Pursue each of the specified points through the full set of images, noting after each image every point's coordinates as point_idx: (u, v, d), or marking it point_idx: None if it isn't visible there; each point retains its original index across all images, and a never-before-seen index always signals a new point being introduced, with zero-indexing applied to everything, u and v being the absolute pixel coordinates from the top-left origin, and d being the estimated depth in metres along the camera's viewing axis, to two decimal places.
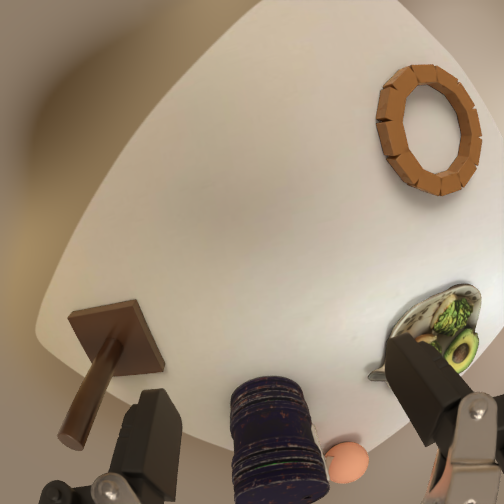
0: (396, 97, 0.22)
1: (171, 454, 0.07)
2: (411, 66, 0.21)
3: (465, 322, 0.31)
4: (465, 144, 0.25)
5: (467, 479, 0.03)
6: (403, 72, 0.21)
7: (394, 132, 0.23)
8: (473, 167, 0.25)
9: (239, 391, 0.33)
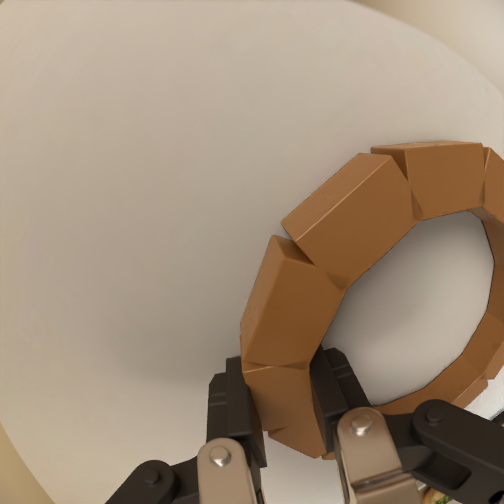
0: (275, 384, 0.08)
1: (258, 419, 0.09)
2: (297, 243, 0.07)
3: None
4: None
5: (377, 499, 0.03)
6: (270, 298, 0.07)
7: (300, 439, 0.10)
8: None
9: None
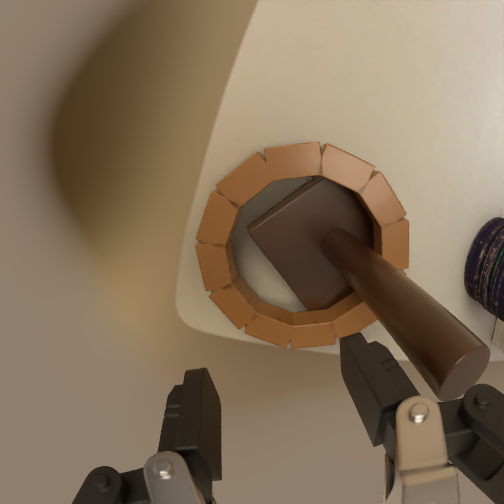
0: (209, 255, 0.19)
1: (215, 432, 0.08)
2: (217, 187, 0.18)
3: None
4: (377, 242, 0.18)
5: (420, 486, 0.03)
6: (206, 208, 0.18)
7: (226, 303, 0.20)
8: None
9: (475, 251, 0.22)
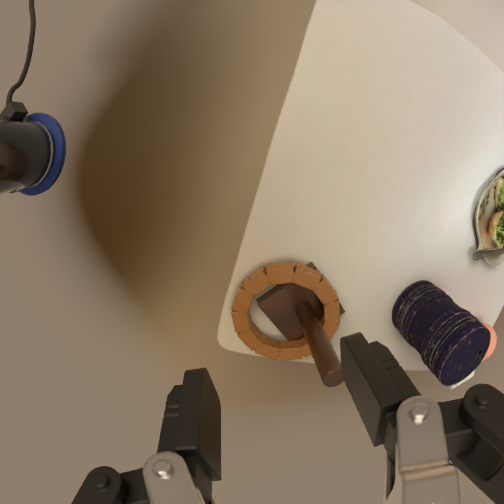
0: (238, 316, 0.38)
1: (215, 432, 0.08)
2: (242, 286, 0.37)
3: None
4: (323, 309, 0.37)
5: (421, 486, 0.03)
6: (237, 296, 0.37)
7: (246, 338, 0.39)
8: (333, 326, 0.37)
9: (398, 304, 0.41)
